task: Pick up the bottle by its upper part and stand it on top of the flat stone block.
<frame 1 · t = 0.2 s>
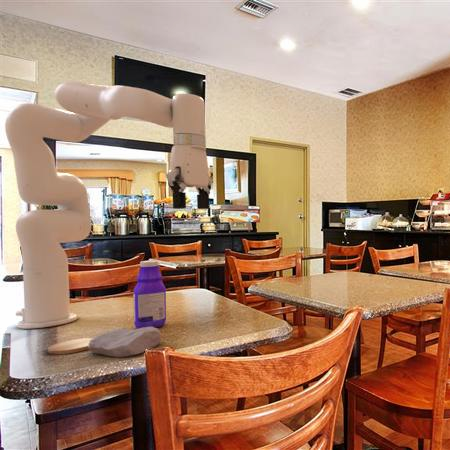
hand: (192, 208, 107), 31 cm above the table, tool pointing down, fingers open, 9 cm apart
stone block: (123, 351, 89), on the table
bottle: (150, 327, 108), on the table
cork coaster: (74, 347, 91), on the table
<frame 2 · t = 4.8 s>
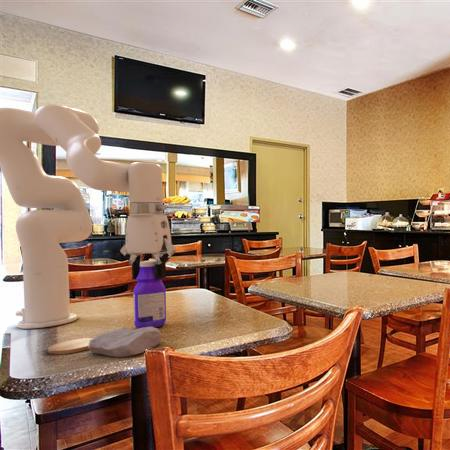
hand: (149, 278, 107), 13 cm above the table, tool pointing down, fingers closed on bottle, 5 cm apart
bottle: (150, 327, 108), on the table, touching gripper
everything else where it was.
when the fingers open (17 cm above the table, at t = 11.4 s): bottle stays where it is, resting on stone block.
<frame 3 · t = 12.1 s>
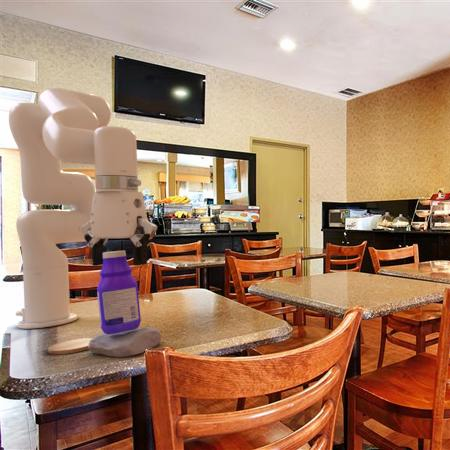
hand: (120, 264, 88), 19 cm above the table, tool pointing down, fingers open, 9 cm apart
stone block: (123, 351, 89), on the table, touching bottle
bottle: (122, 331, 89), point 4 cm above the table, touching stone block
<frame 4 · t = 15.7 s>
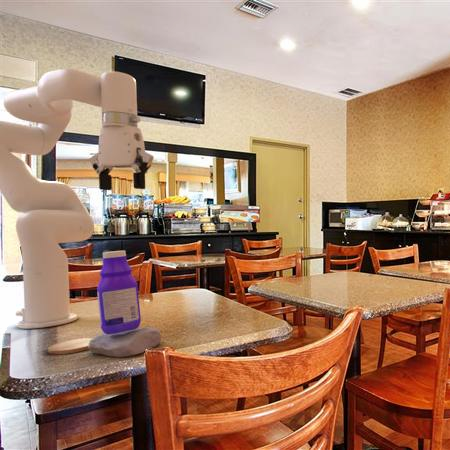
hand: (122, 189, 105), 36 cm above the table, tool pointing down, fingers open, 9 cm apart
nothing on the table moved.
at the end: bottle inside the target area on the stone block (0.1 cm from its centre), point 4.2 cm above the stone block's base; bottle tilted 4°; the gripper is holding nothing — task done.
